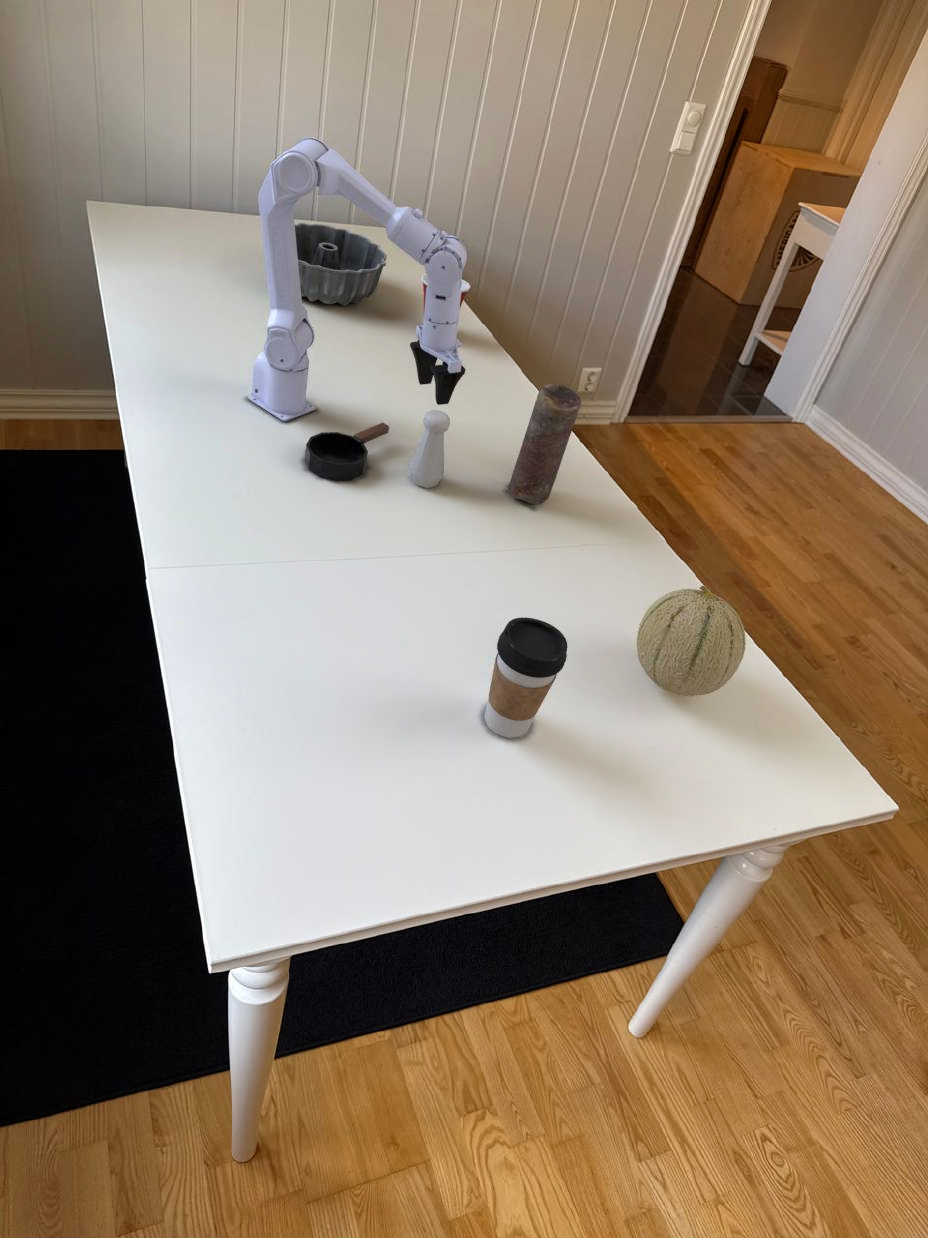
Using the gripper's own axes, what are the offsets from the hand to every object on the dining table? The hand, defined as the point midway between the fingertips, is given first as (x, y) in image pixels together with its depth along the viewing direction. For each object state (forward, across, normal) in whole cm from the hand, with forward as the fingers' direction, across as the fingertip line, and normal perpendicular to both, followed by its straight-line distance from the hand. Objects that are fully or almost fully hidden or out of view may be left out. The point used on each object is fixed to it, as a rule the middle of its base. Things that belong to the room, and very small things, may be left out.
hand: (433, 393), depth 153 cm
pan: (+9, -2, +16) cm, 19 cm away
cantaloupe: (+15, -63, -11) cm, 66 cm away
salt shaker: (+11, -11, +6) cm, 16 cm away
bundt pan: (+7, +66, -2) cm, 66 cm away
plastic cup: (+10, +44, -21) cm, 50 cm away
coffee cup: (+12, -64, +16) cm, 67 cm away
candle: (+12, -18, -12) cm, 25 cm away
